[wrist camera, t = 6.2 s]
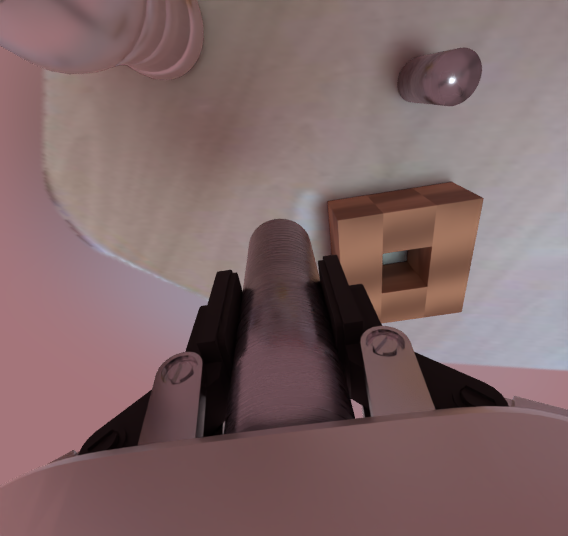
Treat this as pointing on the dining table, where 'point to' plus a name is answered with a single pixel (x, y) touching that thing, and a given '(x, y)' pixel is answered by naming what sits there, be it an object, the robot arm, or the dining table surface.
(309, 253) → the grey tall cylinder
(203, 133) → the dining table surface
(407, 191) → the walnut block
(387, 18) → the dining table surface
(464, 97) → the mauve rounded capsule
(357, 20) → the dining table surface
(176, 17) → the plastic bottle
